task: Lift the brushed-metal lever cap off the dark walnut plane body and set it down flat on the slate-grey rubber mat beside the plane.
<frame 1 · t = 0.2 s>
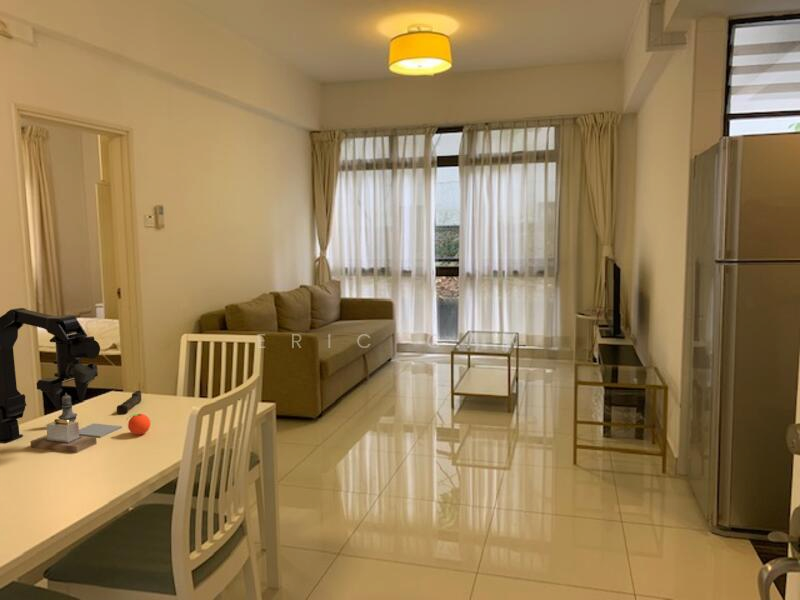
hand: (70, 404, 187), 14 cm above the table, tool pointing down, fingers open, 9 cm apart
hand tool: (130, 407, 230), on the table
weathered candle holder: (68, 426, 209), on the table
lever cap: (63, 438, 190), point 2 cm above the table, touching plane body
tomato: (138, 434, 200), on the table
plane body: (64, 445, 190), on the table
rubber mat: (97, 430, 203), on the table
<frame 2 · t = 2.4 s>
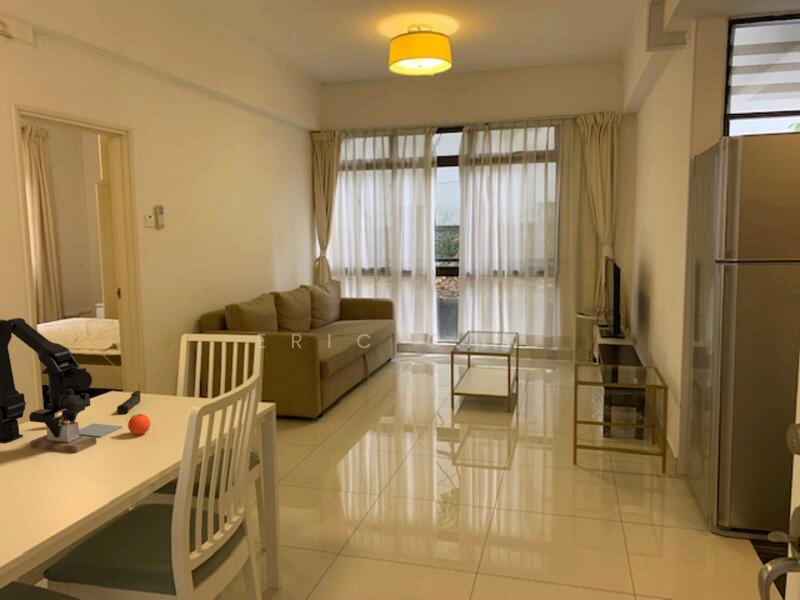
hand: (63, 434, 189), 4 cm above the table, tool pointing down, fingers closed on lever cap, 4 cm apart
lever cap: (63, 438, 190), point 2 cm above the table, touching gripper, plane body
everything else where it was.
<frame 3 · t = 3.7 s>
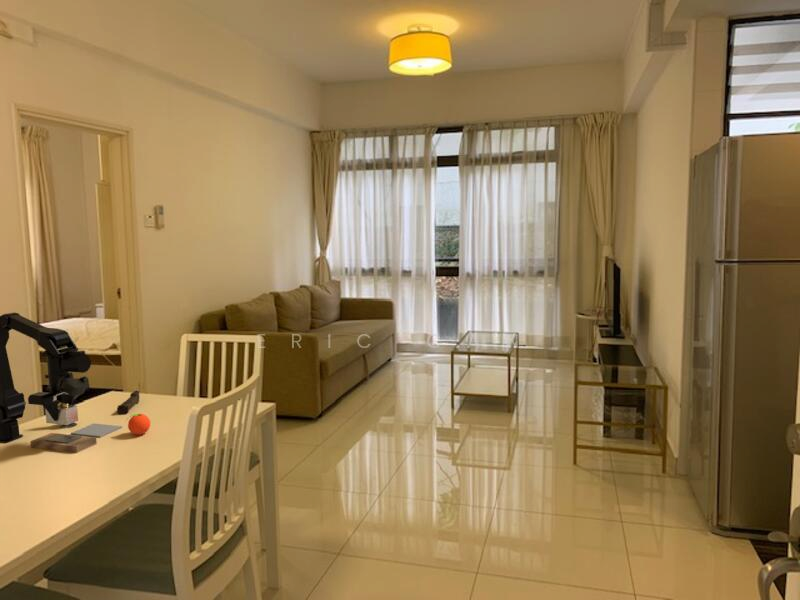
hand: (62, 418, 189), 9 cm above the table, tool pointing down, fingers closed on lever cap, 4 cm apart
lever cap: (62, 421, 189), point 8 cm above the table, touching gripper
everything else where it was.
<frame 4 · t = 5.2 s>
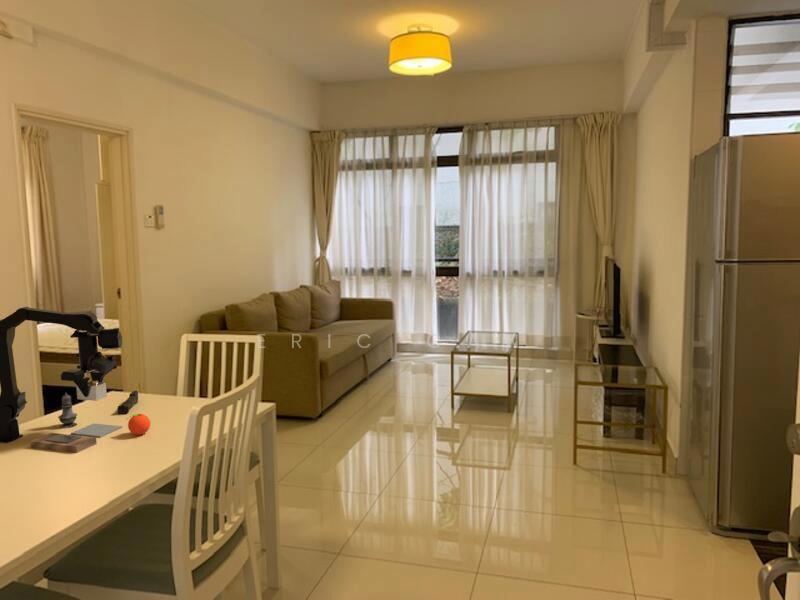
hand: (91, 394, 200), 13 cm above the table, tool pointing down, fingers closed on lever cap, 4 cm apart
lever cap: (92, 398, 200), point 12 cm above the table, touching gripper
everything else where it was.
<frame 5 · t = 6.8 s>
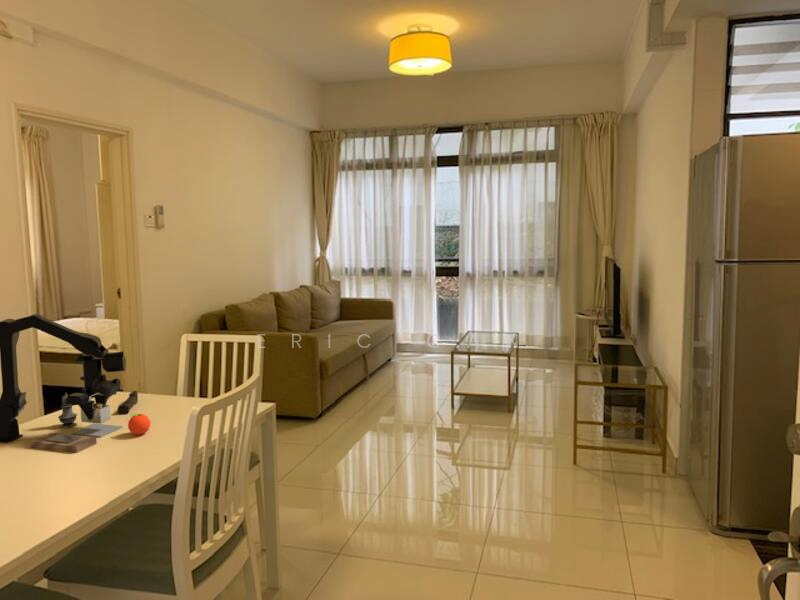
hand: (95, 417, 203), 5 cm above the table, tool pointing down, fingers closed on lever cap, 4 cm apart
lever cap: (96, 420, 203), point 4 cm above the table, touching gripper
everything else where it was.
when the fingers open (3 cm above the table, at t = 8.0 s): lever cap drops 1 cm, resting on rubber mat.
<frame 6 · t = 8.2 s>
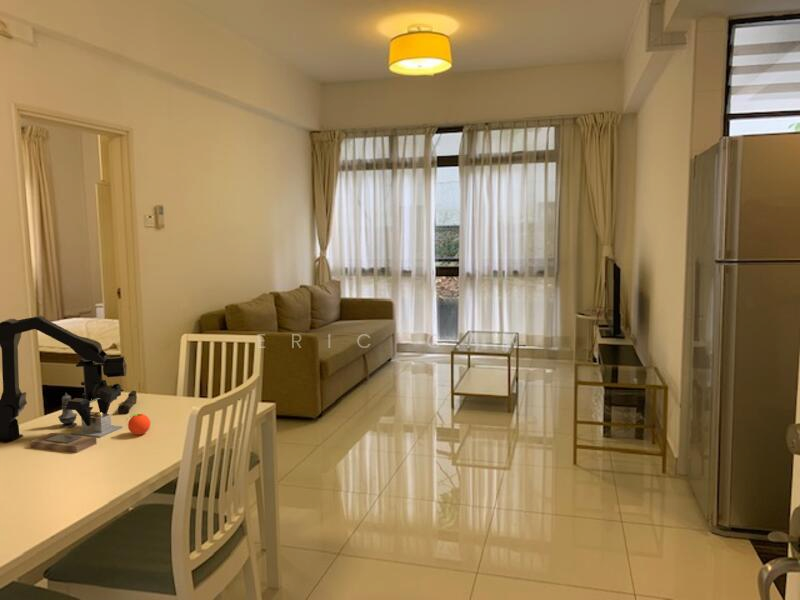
hand: (96, 422, 203), 3 cm above the table, tool pointing down, fingers open, 7 cm apart
lever cap: (96, 429, 203), resting on rubber mat
everything else where it was.
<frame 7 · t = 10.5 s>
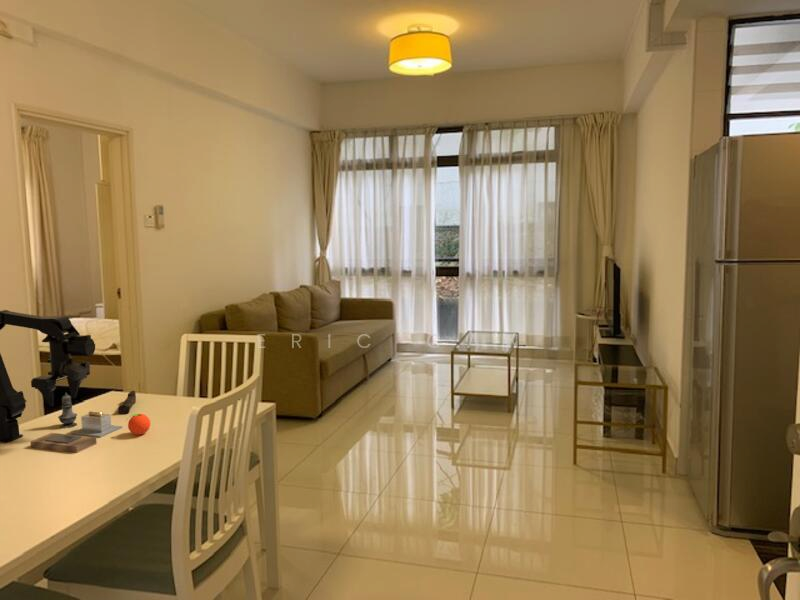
hand: (63, 402, 194), 13 cm above the table, tool pointing down, fingers open, 9 cm apart
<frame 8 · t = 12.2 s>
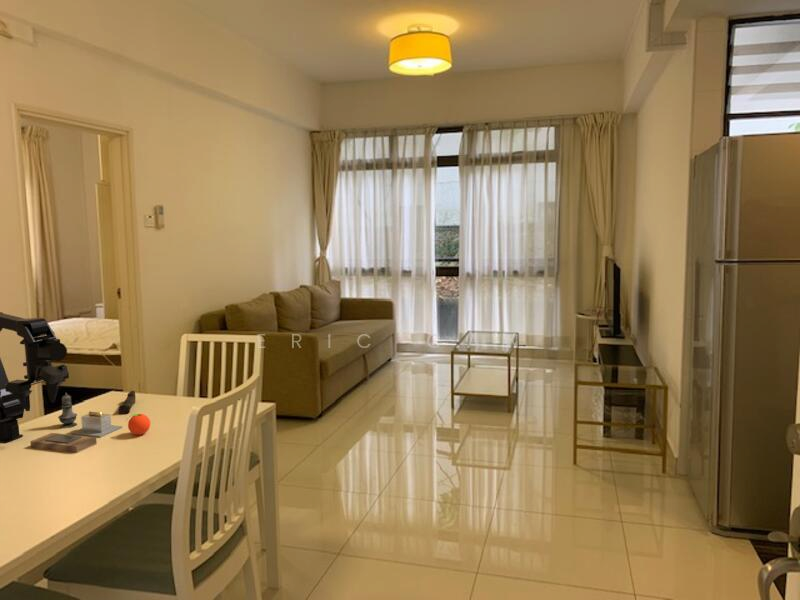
hand: (40, 406, 188), 13 cm above the table, tool pointing down, fingers open, 9 cm apart
nothing on the table moved.
at the end: lever cap inside the target area on the rubber mat (0.0 cm from its centre), point 0.5 cm above the rubber mat's base; lever cap tilted 0°; the gripper is holding nothing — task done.
